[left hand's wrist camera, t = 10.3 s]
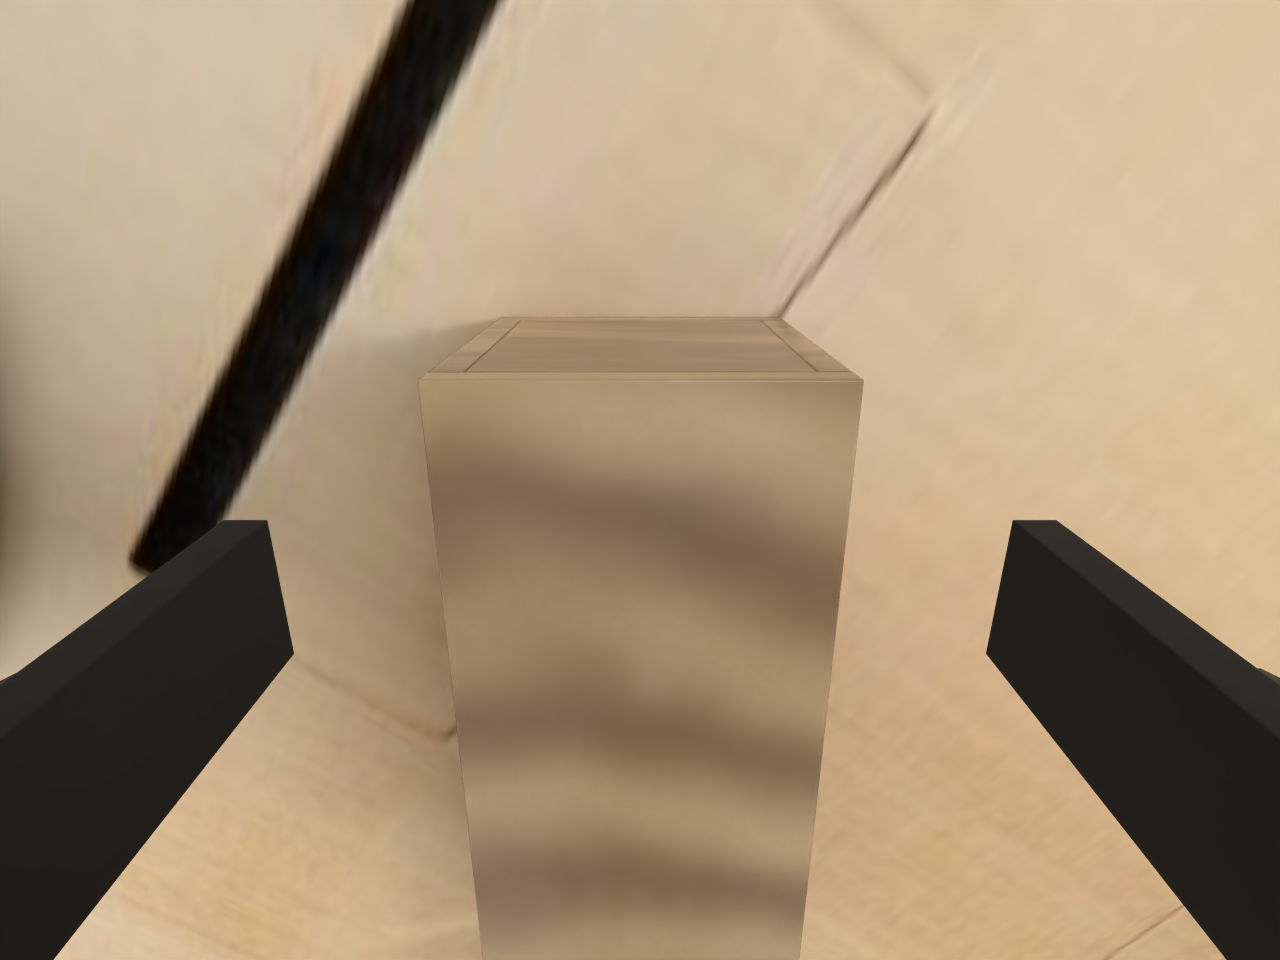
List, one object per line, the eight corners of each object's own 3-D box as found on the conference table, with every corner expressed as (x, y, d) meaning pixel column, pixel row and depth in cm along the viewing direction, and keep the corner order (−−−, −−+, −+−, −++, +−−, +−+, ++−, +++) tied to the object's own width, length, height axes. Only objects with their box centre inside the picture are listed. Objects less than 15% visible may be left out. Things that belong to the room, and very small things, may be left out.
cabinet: (750, 769, 33) (795, 997, 23) (531, 768, 33) (486, 997, 24) (781, 316, 26) (864, 379, 16) (500, 317, 26) (416, 379, 16)
